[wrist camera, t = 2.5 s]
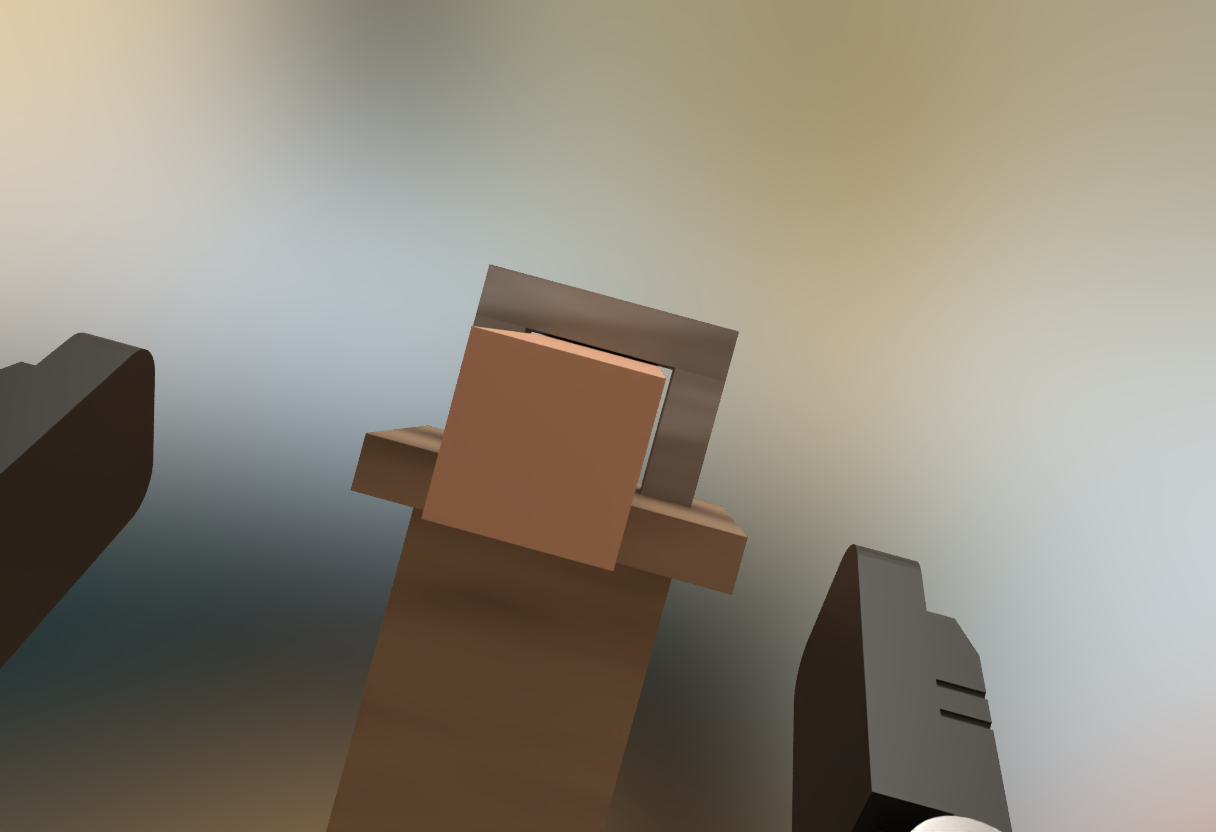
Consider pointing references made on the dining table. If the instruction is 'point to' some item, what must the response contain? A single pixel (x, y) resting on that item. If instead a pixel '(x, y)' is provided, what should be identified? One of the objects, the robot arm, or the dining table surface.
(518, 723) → the walnut stand
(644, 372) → the terracotta bar
